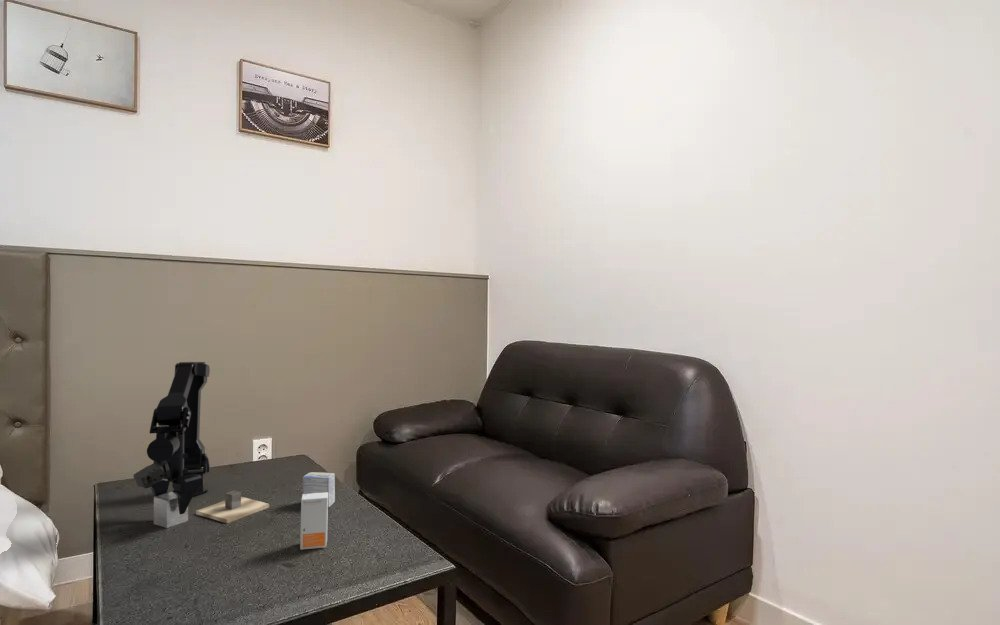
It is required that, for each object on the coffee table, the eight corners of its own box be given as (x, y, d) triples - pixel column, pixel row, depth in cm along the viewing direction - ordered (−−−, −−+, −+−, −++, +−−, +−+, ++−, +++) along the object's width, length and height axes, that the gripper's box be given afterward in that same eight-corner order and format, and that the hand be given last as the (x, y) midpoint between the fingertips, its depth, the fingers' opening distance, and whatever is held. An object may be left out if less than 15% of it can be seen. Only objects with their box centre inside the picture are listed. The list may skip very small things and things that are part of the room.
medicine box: (335, 502, 158) (335, 472, 157) (328, 508, 153) (329, 477, 153) (309, 501, 158) (309, 471, 158) (302, 506, 154) (302, 476, 154)
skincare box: (299, 550, 126) (300, 499, 126) (301, 543, 130) (301, 493, 130) (327, 548, 128) (327, 497, 128) (327, 540, 132) (328, 491, 132)
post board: (195, 514, 147) (196, 495, 147) (238, 499, 159) (238, 482, 159) (227, 523, 141) (227, 504, 141) (268, 507, 153) (269, 489, 153)
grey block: (153, 523, 141) (153, 497, 140) (175, 516, 146) (175, 490, 145) (166, 528, 138) (166, 500, 138) (188, 520, 143) (188, 494, 143)
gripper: (117, 453, 139) (117, 514, 139) (161, 464, 130) (161, 528, 130) (161, 444, 149) (161, 500, 149) (205, 453, 140) (205, 513, 140)
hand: (171, 510), depth 142 cm, fingers open, 9 cm apart
